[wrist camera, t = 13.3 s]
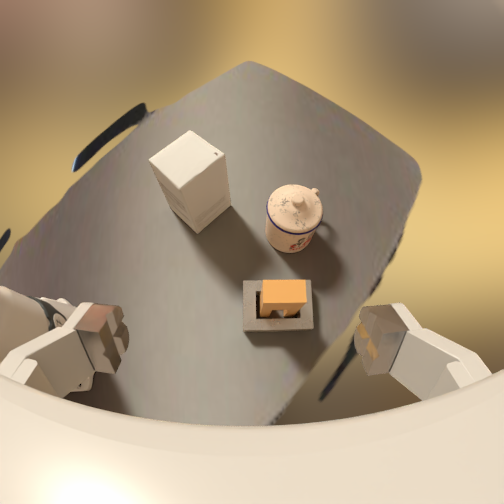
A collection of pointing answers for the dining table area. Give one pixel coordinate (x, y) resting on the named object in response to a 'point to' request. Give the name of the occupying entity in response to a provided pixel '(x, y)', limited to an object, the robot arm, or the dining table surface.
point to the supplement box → (193, 179)
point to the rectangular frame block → (274, 325)
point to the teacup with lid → (292, 217)
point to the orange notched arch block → (282, 296)
